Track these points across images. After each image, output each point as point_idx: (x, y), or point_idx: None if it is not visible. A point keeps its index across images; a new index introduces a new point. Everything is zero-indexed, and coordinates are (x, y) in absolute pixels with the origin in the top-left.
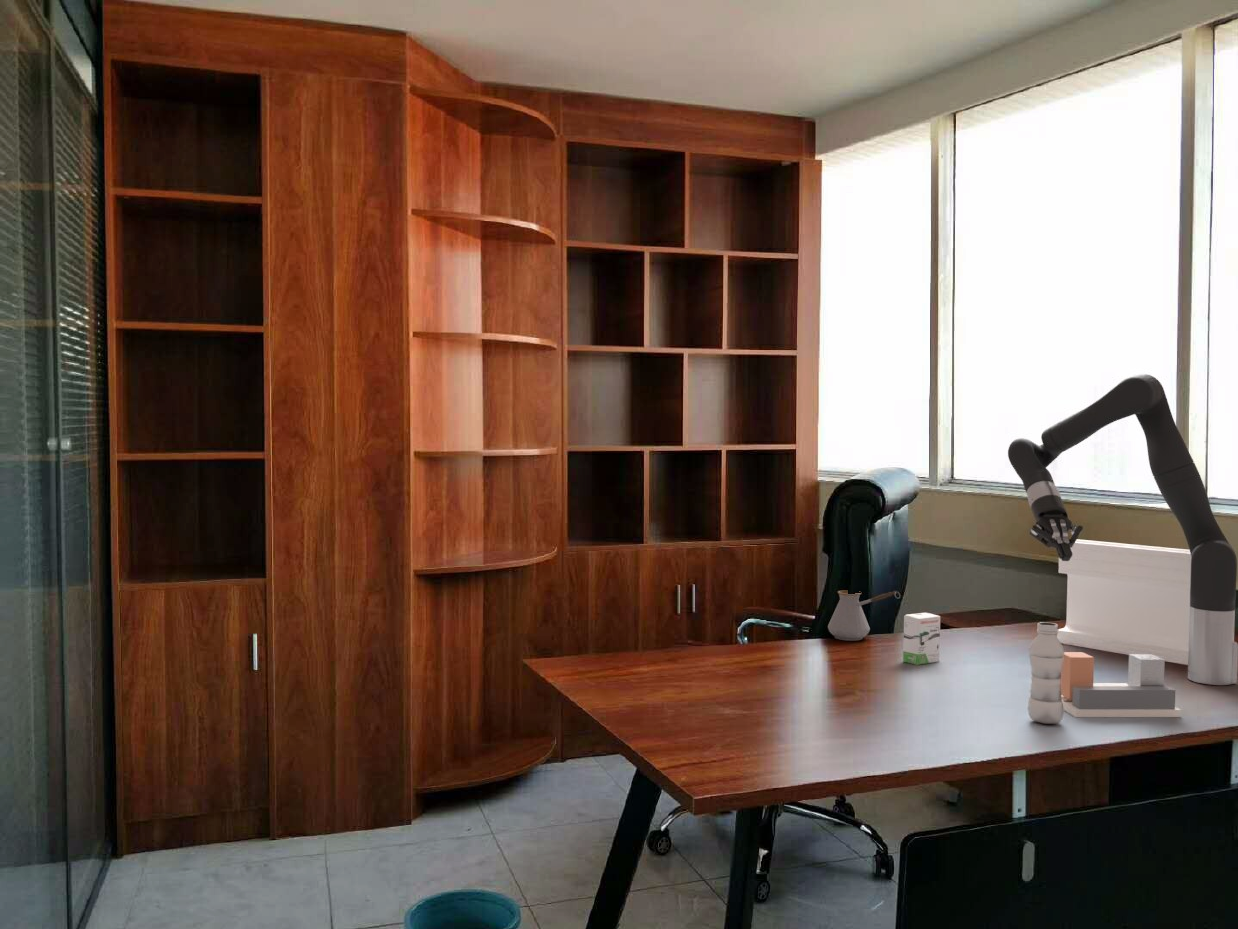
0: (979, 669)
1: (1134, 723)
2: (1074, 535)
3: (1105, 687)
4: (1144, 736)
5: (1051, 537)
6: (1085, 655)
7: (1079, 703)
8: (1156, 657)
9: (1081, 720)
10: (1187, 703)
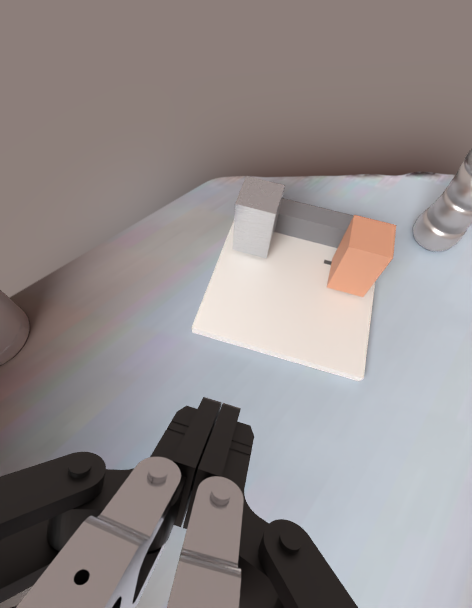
0: (378, 585)
1: None
2: (15, 501)
3: (337, 222)
4: (340, 178)
5: (283, 565)
6: (360, 227)
7: None
8: (246, 188)
9: None
10: (170, 251)
